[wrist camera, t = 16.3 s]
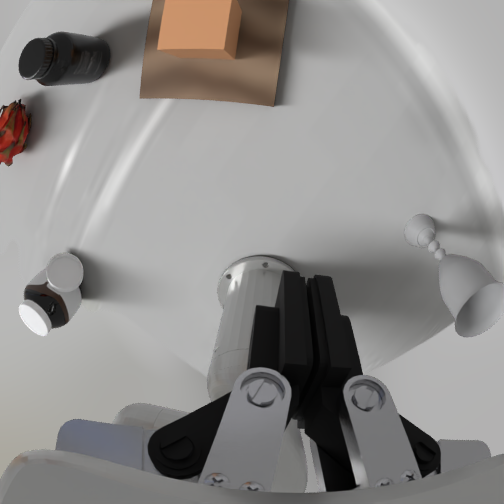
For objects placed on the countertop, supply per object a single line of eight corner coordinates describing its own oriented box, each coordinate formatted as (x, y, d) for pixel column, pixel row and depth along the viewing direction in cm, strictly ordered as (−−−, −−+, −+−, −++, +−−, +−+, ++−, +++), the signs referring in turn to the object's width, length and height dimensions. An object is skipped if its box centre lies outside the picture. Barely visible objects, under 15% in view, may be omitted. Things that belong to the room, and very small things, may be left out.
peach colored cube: (234, 60, 27) (223, 49, 20) (180, 58, 27) (157, 49, 20) (242, 11, 23) (233, -9, 17) (187, 11, 24) (166, -7, 17)
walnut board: (273, 106, 31) (273, 106, 29) (144, 98, 31) (139, 98, 30) (290, -11, 23) (291, -16, 22) (160, -13, 23) (156, -17, 22)
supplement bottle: (98, 28, 26) (41, 16, 15) (120, 59, 28) (62, 53, 18) (66, 62, 28) (6, 63, 17) (85, 93, 30) (25, 101, 20)
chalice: (394, 251, 39) (445, 341, 23) (400, 207, 35) (468, 285, 20) (435, 251, 38) (494, 332, 22) (444, 209, 35) (518, 279, 19)
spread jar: (52, 292, 49) (21, 329, 39) (39, 243, 43) (0, 277, 33) (98, 305, 49) (69, 348, 39) (87, 253, 43) (48, 294, 33)
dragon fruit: (13, 155, 36) (43, 99, 33) (15, 184, 34) (48, 121, 31) (-23, 146, 29) (5, 83, 26) (-27, 175, 26) (2, 105, 23)
